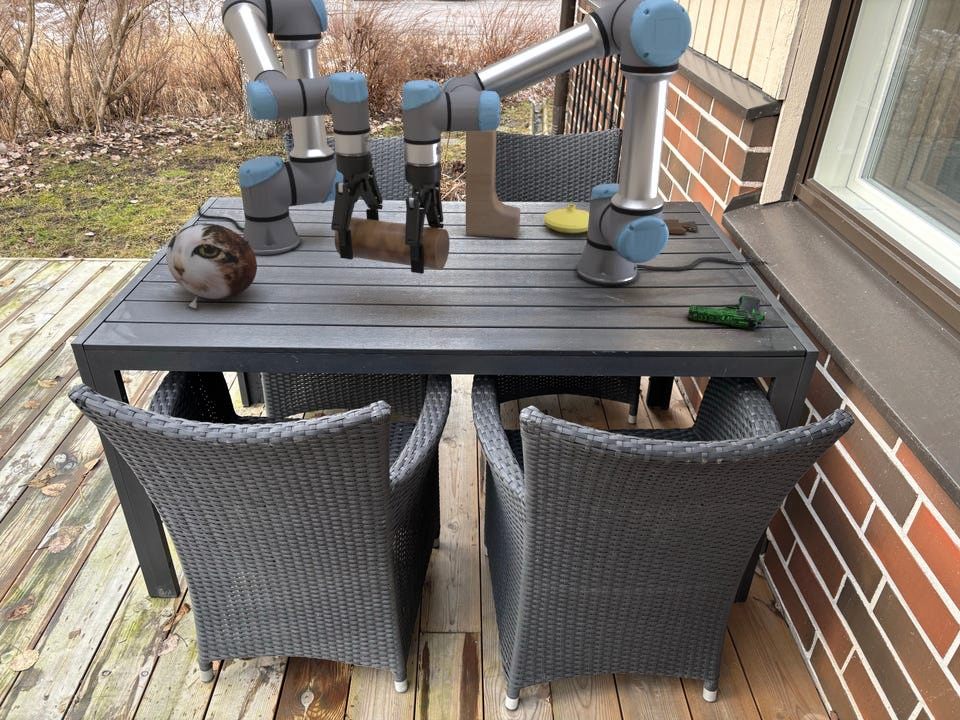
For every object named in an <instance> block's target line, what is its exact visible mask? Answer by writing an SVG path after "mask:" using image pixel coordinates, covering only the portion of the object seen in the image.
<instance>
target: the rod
mask: <svg viewBox="0 0 960 720" xmlns="http://www.w3.org/2000/svg"><path fill="white" fill-rule="evenodd" d="M405 229H406V223H401V222H400V223H399V222H392V221H385V220H379V221H378V220H370V219H367V218H363V217H354V216H352V217H351V221H350V225H349V229H348V230H351V238H352V250H353V258H354V259H355V258H356V259H363V260H368V261H369V260H370V261H376V262H384V263H390V264H396V265H404V266H410V267H411V257H410V245H405ZM334 231H335V230H334ZM421 244H423V254H424V269H431V270H437V271H441V270H443V269H444V268H445V266H446V264H447V261H448V258H449V253H450V245H451V244H450V234H449V232H448V230H447V229H445V228H443V229H442V228H432V227H429V226H424V227H423V234H422V241H421ZM334 247H335V250H336V252H337V254H338V255H340V248H339V238H338V231H335V232H334Z"/></svg>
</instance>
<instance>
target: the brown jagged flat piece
mask: <svg viewBox="0 0 960 720" xmlns="http://www.w3.org/2000/svg"><path fill="white" fill-rule="evenodd" d="M662 220H663V221H664V222H665V223H666V225H667V228H668V231H669V234H682V235H683V234H685V233H687V231H689V232H694V233H696V232H697V231H698V229H697V228H698V227H697V223H696V221H692V220H691V221H686V222H685V221H684V222H680V219H671V218H669V219H663V218H662ZM689 228H691V229H689ZM694 229H697V230H694Z"/></svg>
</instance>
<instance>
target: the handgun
mask: <svg viewBox="0 0 960 720" xmlns="http://www.w3.org/2000/svg"><path fill="white" fill-rule="evenodd" d="M738 303H739V305H737V306H730V305H725V306H724V307H723V308H715V307H708V306H700V305H695V304H691V305H690V306H689V307H688V312H687V313H688V314H687V319H688V320H692V321H693V320H694V321H698V322H699V321H700V322H707V323H714V324H720V325H727V326H731V327H736V328H741V329H745V330H749V331H754V330H756V328H757V327H758V325H759V326H762V323H763V321H765V319H766V316H765V314H763V313H761V312H758V311H759V309H760V307H761V306H760V305H761V299H760V298H759V297H756V296H749V295H740V297H739V298H738Z"/></svg>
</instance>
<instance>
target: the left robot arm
mask: <svg viewBox="0 0 960 720" xmlns="http://www.w3.org/2000/svg"><path fill="white" fill-rule="evenodd" d="M221 21H222V24H223V27H224V30H225V32H226V34H227V36H228V37H229V38H230V39H231V40H233V41H234V43H235V46H236V48H237V51H238V53H239V56H240V59H241V61H242V64H243V66H244V68H245V71H246V74H247V76H248V79H249V81H250V82H248V83H247V84H246V86H245V94H246V95H245V96H246V102H247V106H248V110H249V113H250V115H251V118H252V119H255V120H260V121H261V120H269V121H274V120H283V119H290V125H291V132H292V139H293V148H292V149H291V150H290V151H289V160H288V161H284V160H283V158H282V157H281V156H279V155H271V156H270V155H263V156H259V157H255V158H251V159H248V160H246V161H245V162H243V163H241V165H240V166H239V168H238V170H237V174H238V186H239V188H240V194H241V195H240V196H241V201H242V207H243V212H244V213H243V215H244V219H245V220H244V226H243V227H242V226H240V225H239V224H238V222H237V221H236V220H235V219H233V218H231V217H228V216H221V215H220V216H219V215H208V214H203V213H202V212H201V209H202V208H201V206H199V205H198V207H197V213H198V215H199V216H200V217H201V218H205V219H206V218H207V219H215V220H226V221H230V222H232V223H233V224H234V225H235V227H236V228H237V229H238V230H241V231H243V235H242V237H243V238H244V239H245V240H246V241H249V242H248V244H249V245H250V247H251V248H252V250H253V252H254V254H255V256H256V255H257V256H275V255H281V254H282V255H283V254H285V253H289V252H291V251H293V250H296V249H297V248H298V247H299V246H300V244H301V241H300V235H299V233H298V231H297V229H296V227H295V225H294V223H293V220H292V218H291V216H290V207H296V206H303V205H311V204H312V205H313V204H325V203H328V202H334V203H333V211H332V217H331V218H332V219H331V225H330V226H331V227H330V229H331V230H332V231H338V238H339V248H340V254H339V257H340V259H345V260H350V261H351V260H352V261H353V259H354V257H353V250H352V238H351V230H348V229H349V225H350V221H351V217H353V213H354V208H355V204H356V203H357V202H358V201H359V199H360V197H361V198H362V200H363V202H364V203H365V205H366V206H367V209H365V212H366V213H365V214H366V215H365V216H366V219H370V220H378V221H380V215H379V214H380V213H379V210H383V208H384V207H383V202H384V200H383V196H382V194H381V190H380V188H379V184H378V181H377V178H376V172H375V168H374V167H373V155H372V153H371V152H370V151H371V150H372V143H371V142H372V141H373V138H372V137H371V126H370V125H371V124H370V107H369V94H370V93H369V89H368V82H367V78H366V76H365V75H364V74H363V73H361V72H360V73H359V72H356V71H342V72H335V73H332V74H331V73H326V74H324V75H321V76H320V67H319V57H318V49H317V48H318V46H319V45H320V43H321V42H322V41H323V36H322V33H325V32H326V31H328V25H329V24H328V21H329V20H328V13H327V8H326V4H325V0H224V2H223V4H222V7H221ZM269 34H272V35H273V41H274V43H275V44H276V45H277V46H279V48H280V49H281V54H282V61H283V65H282V63H281V61H280V58H279V56H278V54H277V51H276V49H275V47H274V44H273V42H272V40H271V38H270V35H269ZM329 115H330V116H331V119H332V127H333V128H332V129H333V141H334V143H333V144H334V150H333V149H332V148H331V147H330V146H329V145H328V140H327V131H326V120H325V116H329ZM334 151H335V152H336V154H335V152H334ZM199 210H200V211H199ZM198 211H199V212H198Z"/></svg>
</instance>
